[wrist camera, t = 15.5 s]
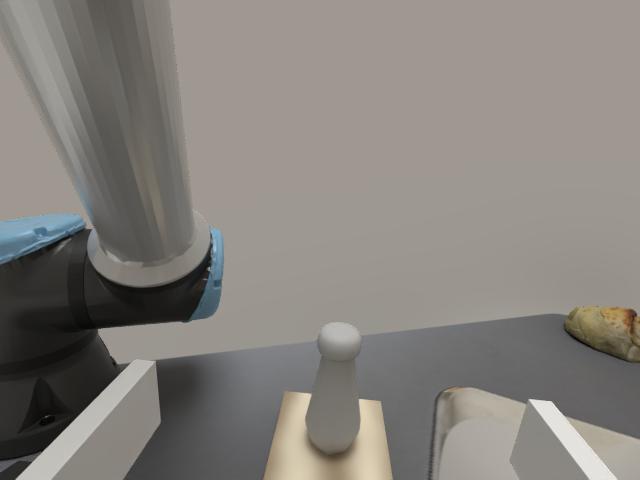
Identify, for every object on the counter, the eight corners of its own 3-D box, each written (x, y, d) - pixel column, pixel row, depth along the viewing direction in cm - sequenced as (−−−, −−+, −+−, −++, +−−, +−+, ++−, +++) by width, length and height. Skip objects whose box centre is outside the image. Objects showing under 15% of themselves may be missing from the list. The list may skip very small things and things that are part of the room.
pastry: (665, 370, 55) (682, 329, 53) (580, 352, 58) (592, 313, 56) (621, 331, 68) (633, 297, 66) (553, 318, 71) (562, 285, 69)
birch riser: (260, 511, 29) (261, 487, 28) (284, 410, 41) (285, 391, 40) (392, 528, 28) (396, 503, 28) (377, 420, 40) (380, 401, 39)
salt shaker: (340, 409, 37) (350, 310, 34) (369, 449, 32) (383, 338, 29) (295, 426, 35) (301, 320, 31) (319, 472, 30) (328, 352, 26)
